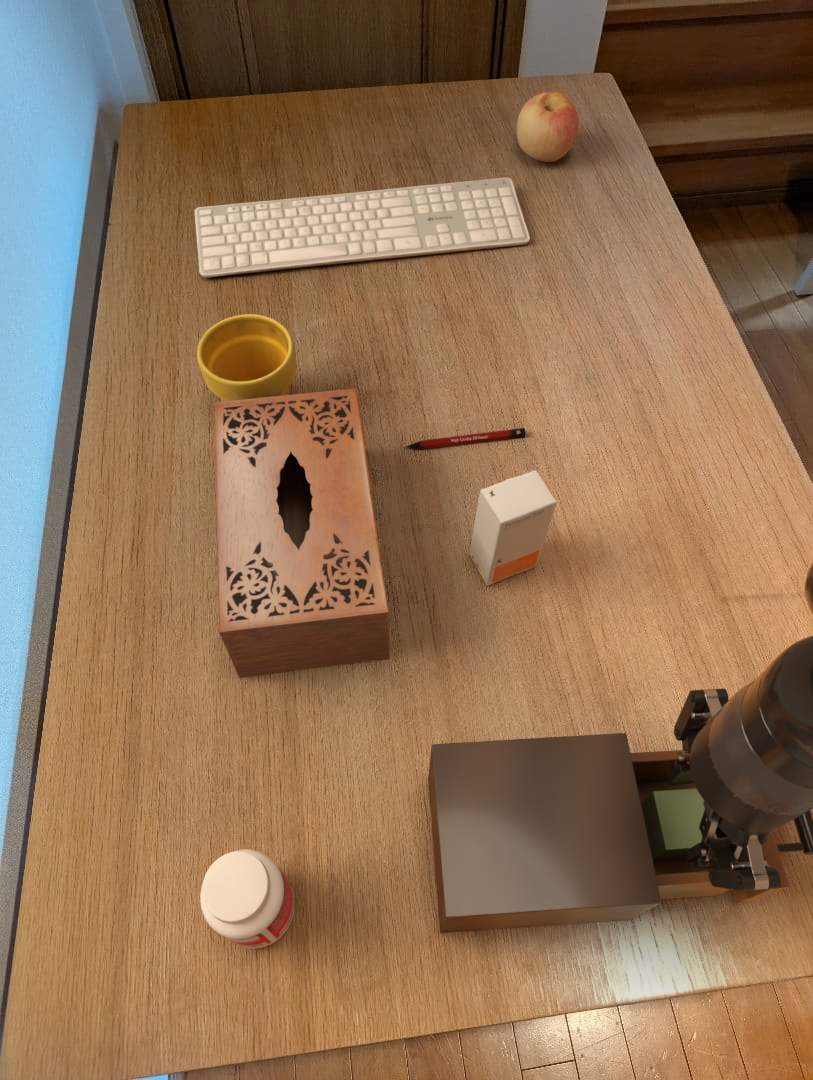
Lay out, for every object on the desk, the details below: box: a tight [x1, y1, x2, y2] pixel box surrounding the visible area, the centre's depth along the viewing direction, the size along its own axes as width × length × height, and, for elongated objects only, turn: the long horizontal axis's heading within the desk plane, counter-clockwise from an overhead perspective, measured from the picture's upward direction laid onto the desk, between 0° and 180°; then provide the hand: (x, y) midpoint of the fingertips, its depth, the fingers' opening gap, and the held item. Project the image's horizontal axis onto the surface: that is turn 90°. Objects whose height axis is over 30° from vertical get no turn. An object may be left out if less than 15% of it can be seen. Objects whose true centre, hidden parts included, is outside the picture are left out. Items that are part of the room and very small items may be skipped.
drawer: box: [630, 749, 813, 905], centre depth 66 cm, size 19×11×8 cm, turn 94°
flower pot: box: [196, 313, 297, 402], centre depth 91 cm, size 10×10×10 cm
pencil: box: [405, 427, 526, 450], centre depth 93 cm, size 1×14×1 cm, turn 99°
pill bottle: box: [199, 848, 296, 949], centre depth 63 cm, size 6×6×11 cm
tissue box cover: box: [214, 387, 391, 678], centre depth 81 cm, size 26×14×10 cm, turn 8°
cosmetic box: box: [469, 470, 558, 587], centre depth 80 cm, size 6×4×12 cm
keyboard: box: [194, 177, 531, 279], centre depth 111 cm, size 44×12×2 cm, turn 100°
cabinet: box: [427, 732, 662, 934], centre depth 66 cm, size 16×13×10 cm
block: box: [641, 788, 705, 861], centre depth 66 cm, size 4×4×4 cm
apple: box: [516, 91, 580, 163], centre depth 118 cm, size 9×9×8 cm
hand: (689, 816), depth 64 cm, fingers open, 5 cm apart
